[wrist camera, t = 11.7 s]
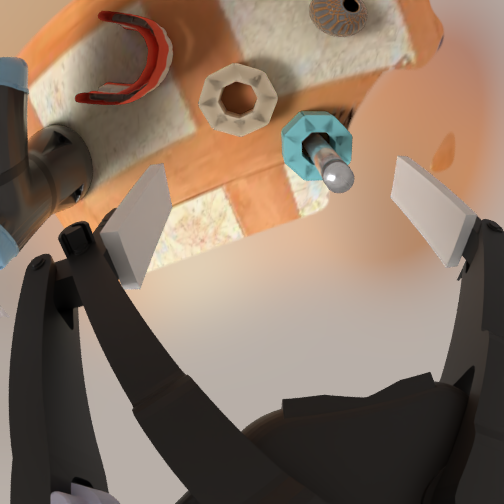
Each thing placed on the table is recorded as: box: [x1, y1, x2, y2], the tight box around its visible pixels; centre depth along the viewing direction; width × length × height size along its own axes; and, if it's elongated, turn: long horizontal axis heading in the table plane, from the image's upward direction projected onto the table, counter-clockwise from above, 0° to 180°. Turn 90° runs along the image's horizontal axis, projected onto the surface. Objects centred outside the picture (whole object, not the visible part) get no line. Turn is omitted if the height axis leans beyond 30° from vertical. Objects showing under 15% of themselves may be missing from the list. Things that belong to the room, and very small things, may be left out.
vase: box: [309, 0, 367, 37], centre depth 22 cm, size 7×7×9 cm
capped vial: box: [303, 132, 354, 193], centre depth 32 cm, size 3×3×14 cm
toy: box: [75, 11, 173, 105], centre depth 26 cm, size 12×10×8 cm
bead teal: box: [281, 111, 352, 181], centre depth 36 cm, size 9×9×4 cm
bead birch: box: [198, 63, 278, 137], centre depth 32 cm, size 9×9×4 cm
